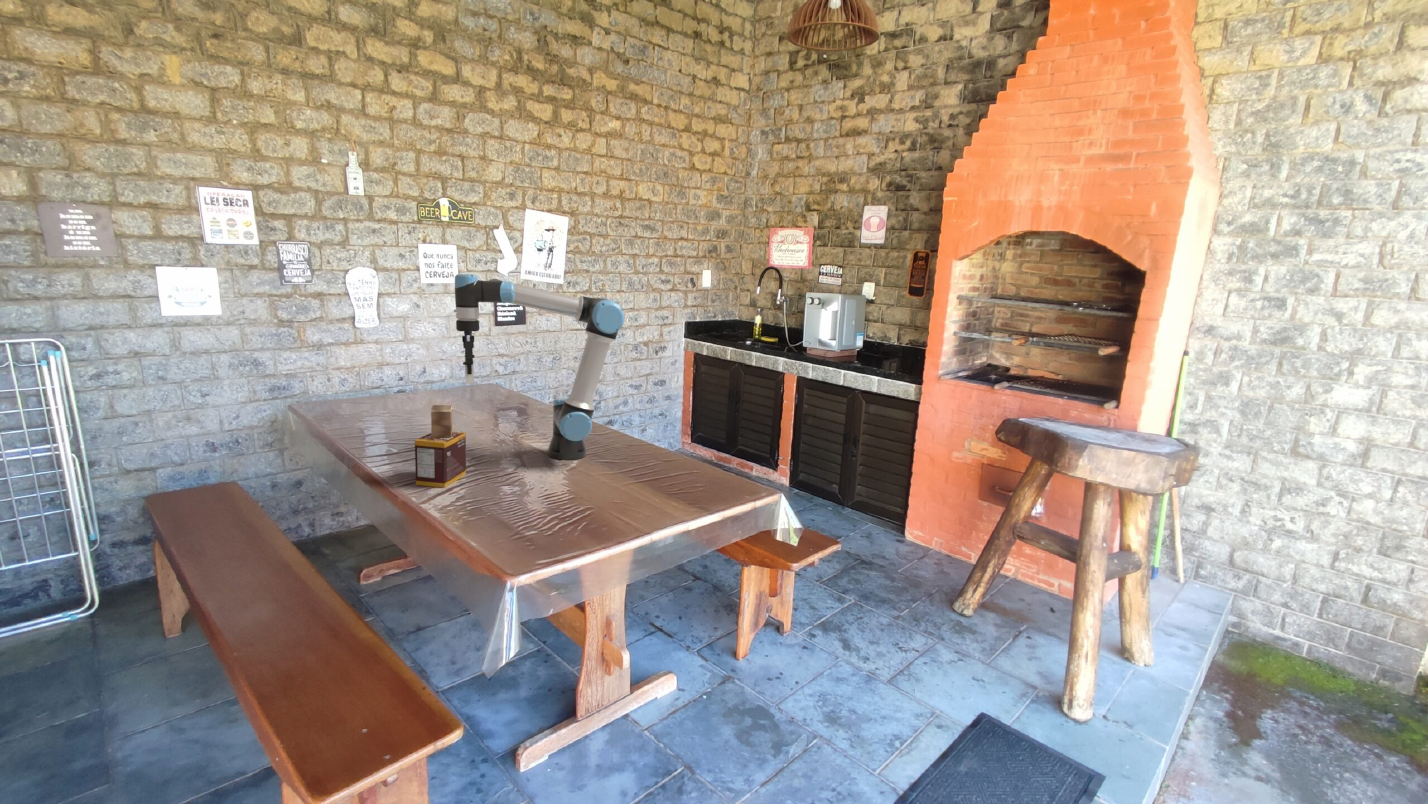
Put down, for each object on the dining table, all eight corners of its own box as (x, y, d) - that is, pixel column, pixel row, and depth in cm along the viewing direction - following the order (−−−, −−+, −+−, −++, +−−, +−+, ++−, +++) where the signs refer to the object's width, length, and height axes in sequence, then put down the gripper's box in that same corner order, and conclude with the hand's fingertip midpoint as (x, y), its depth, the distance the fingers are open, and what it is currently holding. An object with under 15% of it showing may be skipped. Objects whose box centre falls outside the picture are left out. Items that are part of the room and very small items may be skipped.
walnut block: (452, 433, 226) (452, 405, 224) (450, 438, 220) (450, 409, 218) (433, 433, 224) (432, 405, 222) (431, 438, 218) (430, 409, 216)
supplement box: (466, 474, 232) (466, 431, 229) (444, 488, 217) (444, 443, 214) (438, 471, 233) (438, 429, 230) (415, 485, 218) (414, 440, 215)
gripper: (456, 315, 237) (458, 373, 241) (455, 323, 214) (457, 386, 219) (478, 316, 239) (480, 373, 244) (479, 323, 217) (481, 386, 221)
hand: (469, 379), depth 231 cm, fingers open, 13 cm apart
